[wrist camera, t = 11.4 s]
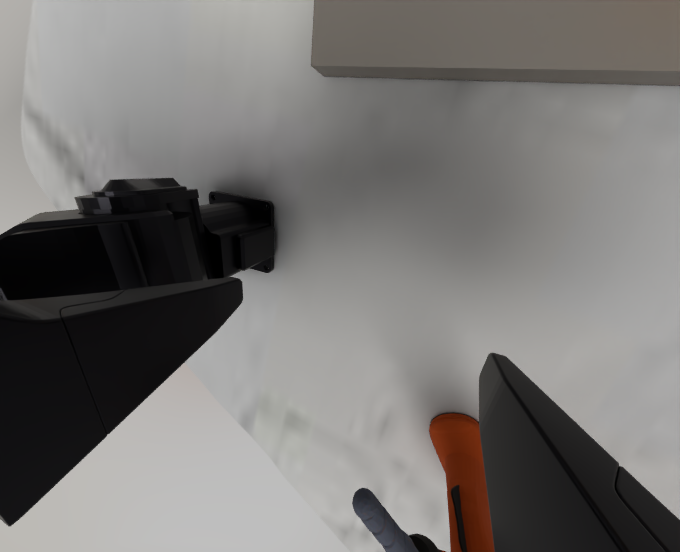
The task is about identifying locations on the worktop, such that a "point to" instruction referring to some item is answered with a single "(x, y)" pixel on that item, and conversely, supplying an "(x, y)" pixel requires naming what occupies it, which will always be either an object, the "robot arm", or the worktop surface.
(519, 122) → the worktop surface
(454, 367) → the worktop surface
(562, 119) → the worktop surface
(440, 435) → the toy drill
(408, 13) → the grey peg board
